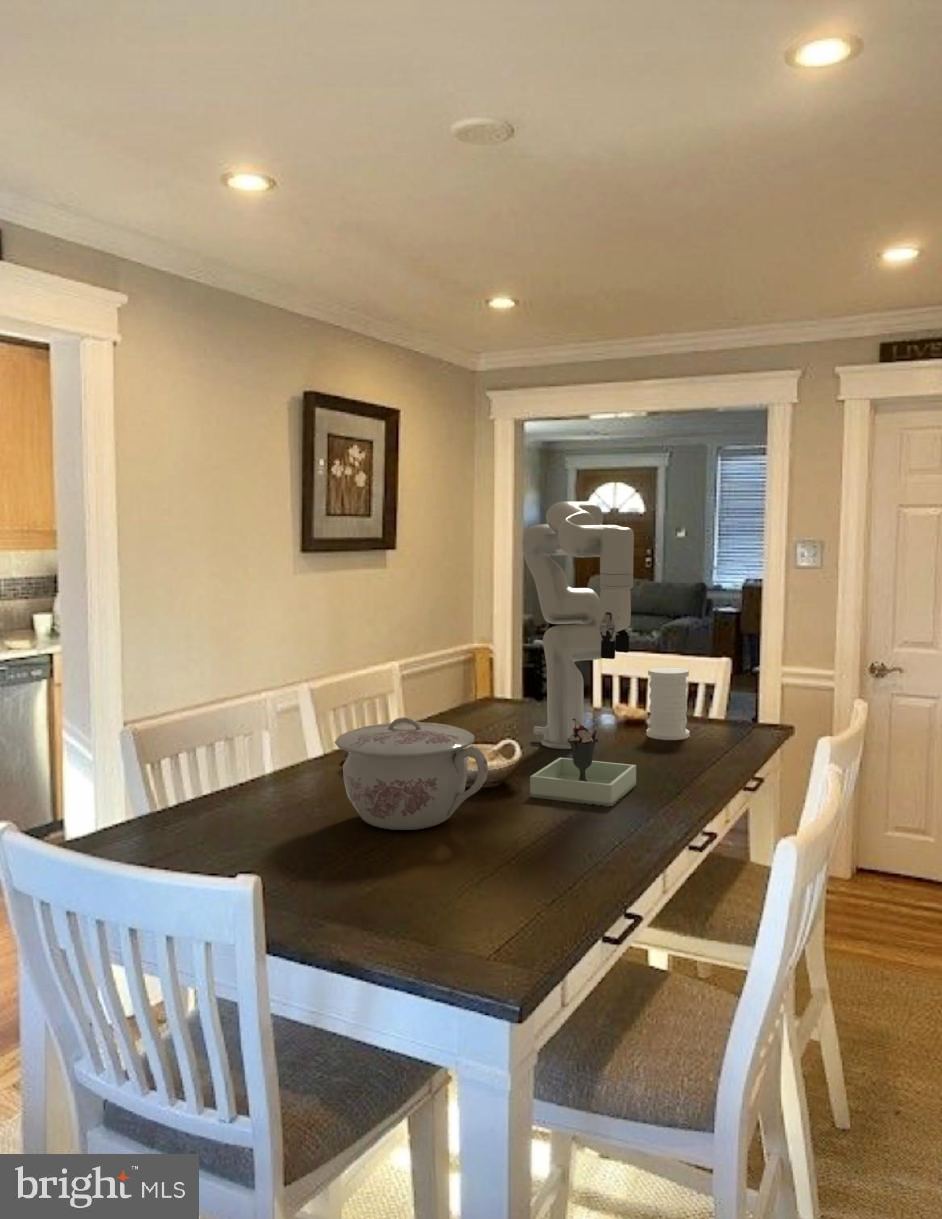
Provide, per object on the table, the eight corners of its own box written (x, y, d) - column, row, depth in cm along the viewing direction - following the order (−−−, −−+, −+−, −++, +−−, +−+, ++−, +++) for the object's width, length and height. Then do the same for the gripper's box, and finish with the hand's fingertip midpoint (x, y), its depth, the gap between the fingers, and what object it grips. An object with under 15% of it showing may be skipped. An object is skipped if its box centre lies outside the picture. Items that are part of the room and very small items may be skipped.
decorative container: (657, 741, 256) (657, 674, 255) (639, 732, 267) (639, 668, 266) (697, 738, 259) (697, 672, 257) (678, 729, 270) (678, 666, 268)
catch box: (530, 797, 205) (530, 776, 205) (559, 776, 222) (559, 757, 221) (611, 806, 198) (611, 785, 197) (636, 785, 214) (636, 765, 213)
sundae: (561, 785, 211) (560, 718, 210) (578, 779, 216) (578, 713, 215) (586, 791, 207) (586, 722, 205) (603, 784, 212) (603, 717, 210)
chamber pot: (321, 811, 197) (318, 711, 196) (445, 794, 208) (444, 700, 206) (360, 853, 172) (358, 739, 170) (500, 832, 183) (499, 724, 181)
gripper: (613, 577, 229) (612, 648, 231) (587, 583, 214) (586, 659, 216) (643, 578, 226) (642, 650, 228) (619, 585, 210) (618, 662, 212)
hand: (615, 655), depth 222 cm, fingers open, 9 cm apart
